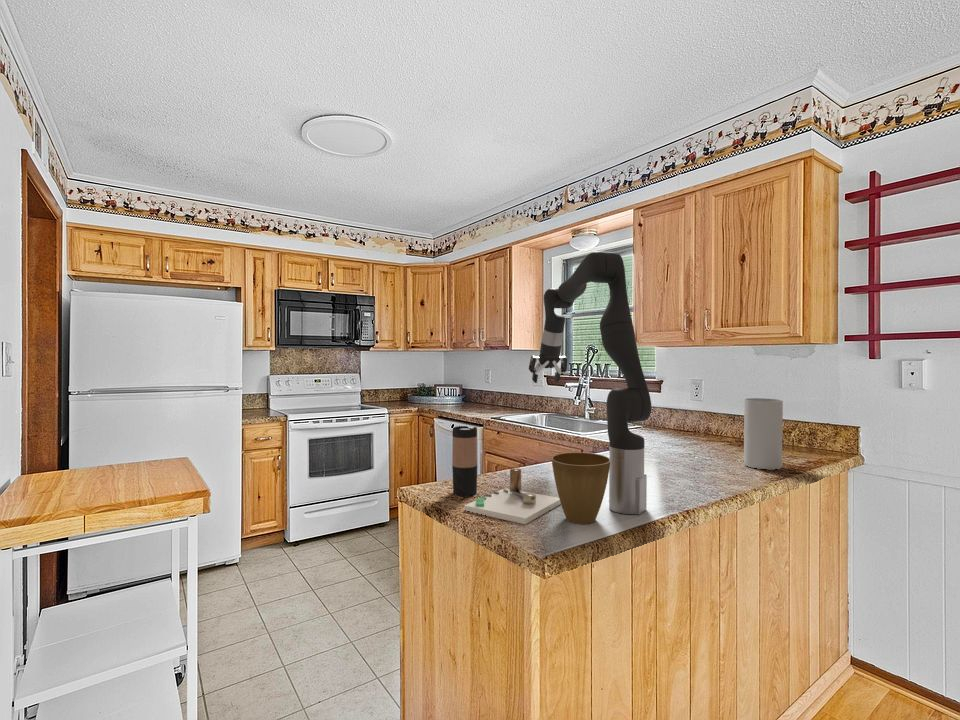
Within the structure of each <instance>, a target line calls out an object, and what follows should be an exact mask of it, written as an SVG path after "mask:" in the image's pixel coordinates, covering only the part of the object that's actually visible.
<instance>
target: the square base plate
mask: <svg viewBox="0 0 960 720" xmlns="http://www.w3.org/2000/svg"><path fill="white" fill-rule="evenodd" d="M520 492H522V493H523V494H525V493H530V492H528V491H523V490H521V491H520ZM531 493H532V494H535V495H536V503H535V504H525V503H523V499H521V498H519V497H518V496H516V495H515V494H513V493H512V492H510V488H507V487H506V488H505V487H504V488H503V489H500V490H493V491H492V493H491V494H490V493H484V496H478V497H477V498H476V500H474V501H471V502H470V503H466V504H465V505H464V504H463V505H464V510H466V511H465V512H467V511H470V512H469V513H472V512H474V513H473V514H476V513H478V515H481V514H482V515H481V516H485V515H486V516H485V517H490V518H494V519H500V520H505V521H507V522H508V521H509V522H512V523H513V522H514V523H518V524H523V525H527V524H529V523H531V522H532V521H534V520H535V519H538V518H539V517H540V516H542V515H545V514H546V513H548V512H550V511H551V510H553V509H554V508H557V507H558V506H560V505H561V502H560V499H559V497H556V496H551V495H546V494H540V493H534V492H531ZM549 510H550V511H549Z"/></svg>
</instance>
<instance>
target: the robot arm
mask: <svg viewBox="0 0 960 720" xmlns="http://www.w3.org/2000/svg"><path fill="white" fill-rule="evenodd" d="M625 269H626V268H625V263H624V259H623V257H622V255H621V254H620V253H619V252H614V251H599V250H598V251H597V250H596V251H591V252H589V253H588V254H586V256H585V257H584V258H583V259H582V260H581V261H580V263H579V265H577V268H575V271H574V272H573V273H572V274H571V275H570V276H569V277H568V278H567V279H566V280H564V281H563V282H562V283H561V284H560V285H558V288H553V287H552V288H551V287H550V288H548V289H546V290H545V291H544V294H543V304H544V314H545V320H544V327H543V332H542V334H541V340H540V341H541V342H540V348H539V349H540V350H539V355H538V356H535V355H531V356H530V360H529V365H528V371H529V372H530V373H531V374H532V377H531V378H532V379H531V380H532V382H533V383H534V384H538V380H539V379H538V378H539V373H540V371H542V370H543V369H549V368H550V369H553V368H554V369H555V373H554V378H553V382H555V383H557V384H558V383H559V381H560V379H561V374H562V373H566V372H567V366H568V357H567V356H566V355H562V356H560V355H561V351H562V345H563V341H564V329H565V324H566V318H565V316H564V315H563V314H561V313H557V312H555V309H569V308H571V307H572V306H573V305H574V303H575V300H576V299H578V298H579V297H581V296H582V295H583V294H584V293H585V292H586V290H587V287H588V284H587V283H594V284H595V283H597V284H607V285H608V288H609V300H608V302H607V306H606V307H605V310H604V311H603V314H602V316H601V318H600V322H599V330H600V336H601V337H600V338H601V342H602V347H603V349H604V350H605V352H606V354H607V355H608V356H609V358H610V359H611V360H612V361H613V363H615V365H616V366H617V367H618V369H619V370H620V371H621V373H622V375H623V377H624V380H625V382H626V387H622V388H621V387H619V388H618V387H617V388H613V389H611V390H610V391H609V393H608V394H607V398H606V421H607V422H606V423H607V436H608V439H609V440H608V441H609V442H608V443H609V446H608V447H609V448H608V449H609V454H608V455H609V457H608V458H609V459H610V460H611V461H610V468H609V474H608V481H609V483H608V484H609V485H608V486H609V487H608V494H609V495H608V496H609V499H608V505H609V506H608V507H609V510H610V511H612V512H614V513H618V514H624V515H638V514H639V515H642V514H643V513H644V512H645V511H646V510H647V500H648V499H647V497H648V496H647V495H648V494H647V487H648V486H647V483H648V482H647V479H648V477H647V476H648V475H647V474H645V437H644V436H642V435H640V434H636V433H635V432H632V431H630V430H629V425H628V423H633V422H637V423H640V422H645V421H647V420H649V418H650V417H651V413H652V400H651V395H650V392H649V388H648V384H647V381H646V378H645V375H644V372H643V369H642V363H641V360H640V356H639V349H638V345H637V340H636V334H635V333H636V332H635V329H634V328H635V327H634V324H633V319H632V318H633V317H632V315H631V309H630V303H629V299H628V290H627V282H626V281H627V280H626V271H625ZM559 362H561V363H560V366H559V365H558V363H559ZM536 363H537V364H536Z"/></svg>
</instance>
